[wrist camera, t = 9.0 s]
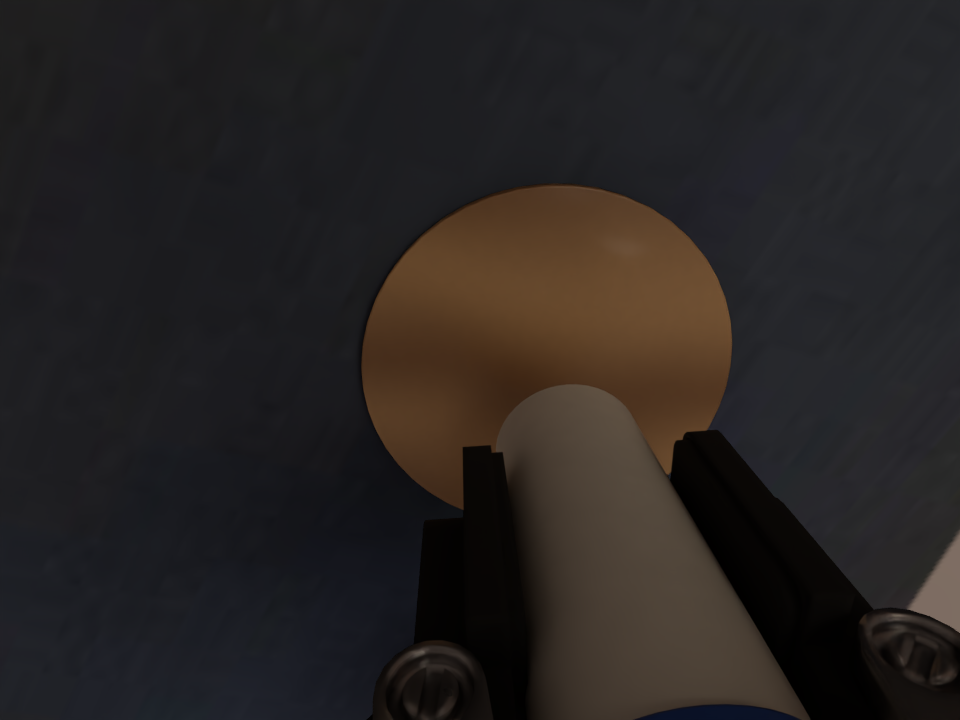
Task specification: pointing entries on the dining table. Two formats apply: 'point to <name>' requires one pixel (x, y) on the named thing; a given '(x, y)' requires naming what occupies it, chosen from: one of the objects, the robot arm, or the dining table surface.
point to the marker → (623, 578)
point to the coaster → (541, 325)
